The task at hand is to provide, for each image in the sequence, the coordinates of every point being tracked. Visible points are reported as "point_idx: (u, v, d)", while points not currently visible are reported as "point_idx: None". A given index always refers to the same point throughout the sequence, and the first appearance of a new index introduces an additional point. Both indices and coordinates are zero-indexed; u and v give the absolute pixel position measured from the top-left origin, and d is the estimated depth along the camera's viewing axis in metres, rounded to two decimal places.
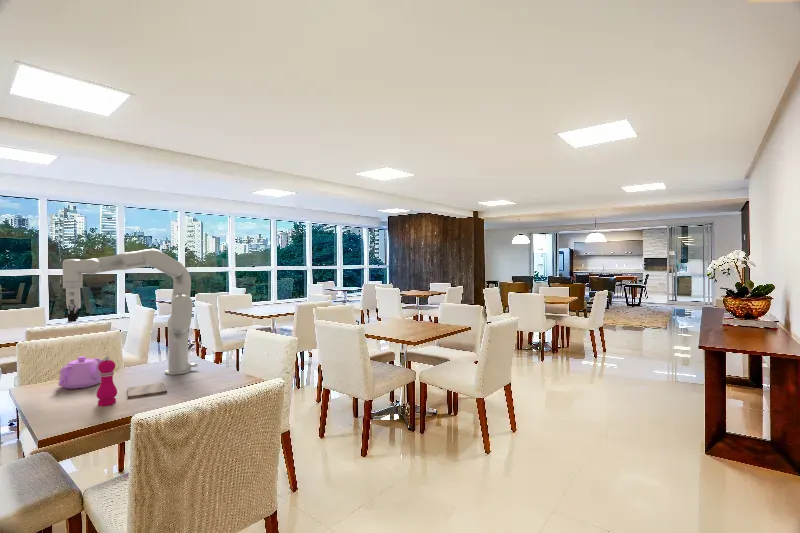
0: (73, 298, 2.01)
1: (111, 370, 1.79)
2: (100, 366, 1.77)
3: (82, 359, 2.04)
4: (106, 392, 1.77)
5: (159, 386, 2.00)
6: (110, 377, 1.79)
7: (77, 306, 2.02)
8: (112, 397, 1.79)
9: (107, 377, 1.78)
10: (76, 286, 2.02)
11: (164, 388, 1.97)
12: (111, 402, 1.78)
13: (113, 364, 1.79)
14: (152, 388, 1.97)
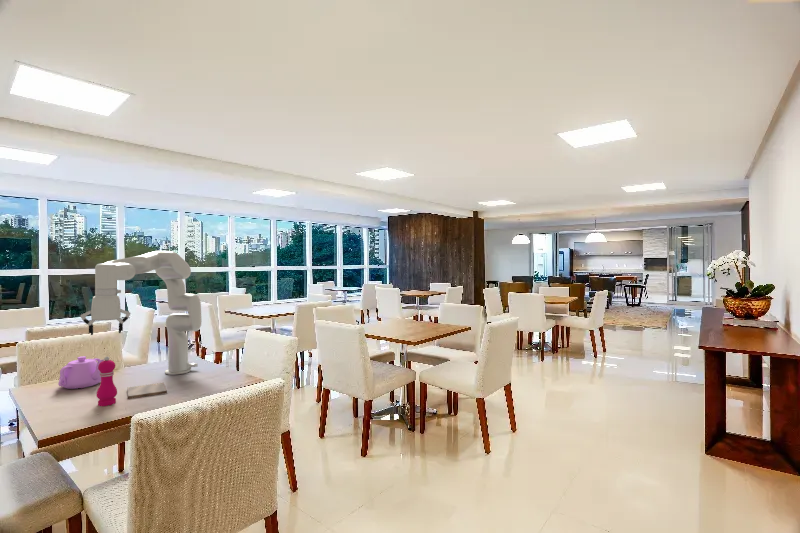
0: None
1: (111, 370, 1.79)
2: (100, 366, 1.77)
3: (82, 359, 2.04)
4: (106, 392, 1.77)
5: (159, 386, 2.00)
6: (110, 377, 1.79)
7: (120, 315, 1.83)
8: (112, 397, 1.79)
9: (107, 377, 1.78)
10: None
11: (164, 388, 1.97)
12: (111, 402, 1.78)
13: (113, 364, 1.79)
14: (152, 388, 1.97)
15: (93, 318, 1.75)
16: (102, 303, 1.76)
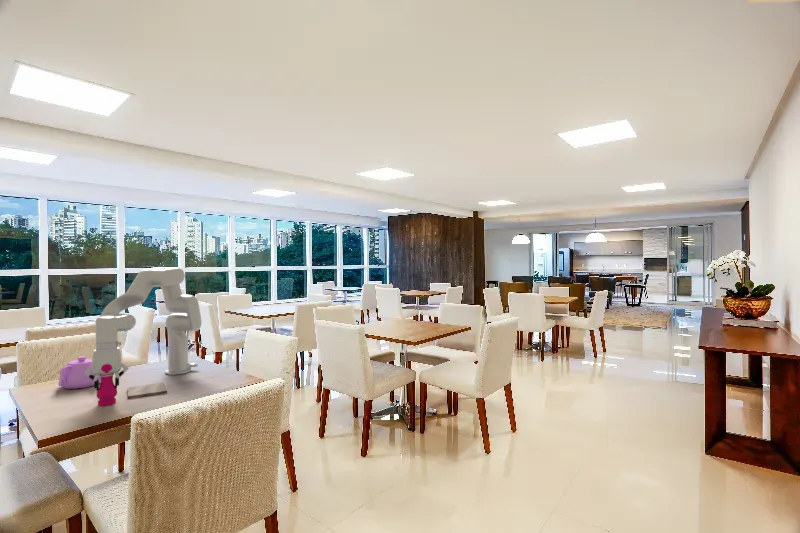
0: None
1: None
2: None
3: (82, 359, 2.04)
4: (106, 392, 1.77)
5: (159, 386, 2.00)
6: (110, 377, 1.79)
7: None
8: (112, 397, 1.79)
9: (107, 377, 1.78)
10: None
11: (164, 388, 1.97)
12: (111, 402, 1.78)
13: None
14: (152, 388, 1.97)
15: (94, 372, 1.75)
16: (102, 357, 1.77)
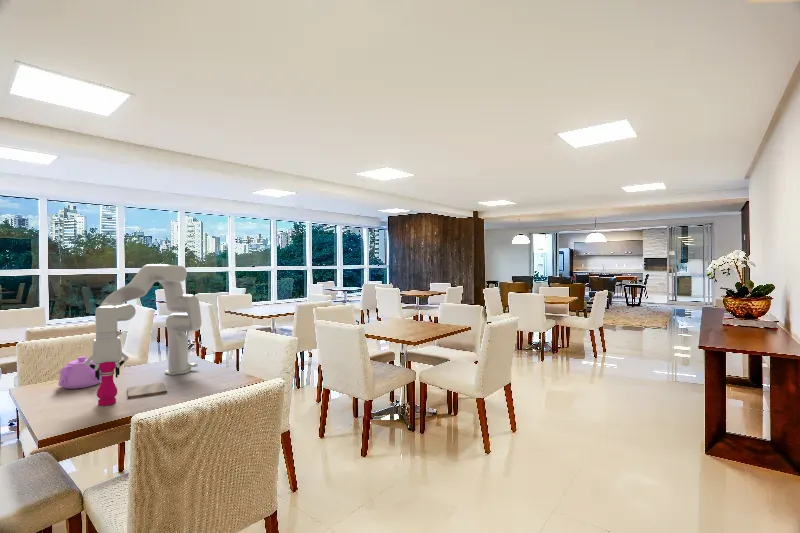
0: None
1: (112, 369, 1.79)
2: (101, 366, 1.77)
3: (82, 359, 2.04)
4: (107, 392, 1.77)
5: (159, 386, 2.00)
6: (110, 377, 1.79)
7: None
8: (112, 397, 1.79)
9: (107, 376, 1.78)
10: None
11: (164, 388, 1.97)
12: (111, 402, 1.78)
13: (114, 363, 1.80)
14: (152, 388, 1.97)
15: (94, 361, 1.76)
16: (103, 347, 1.77)
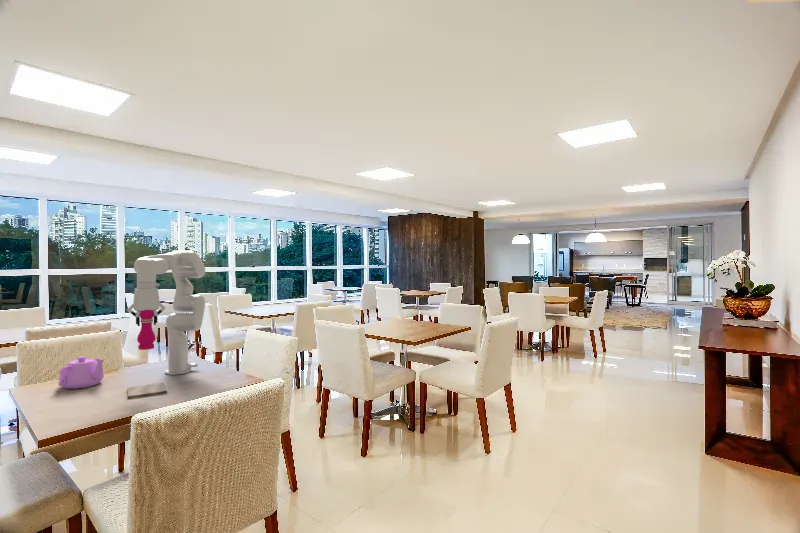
0: None
1: (151, 317, 1.95)
2: (141, 313, 1.93)
3: (82, 359, 2.04)
4: (146, 337, 1.93)
5: (159, 386, 2.00)
6: (149, 324, 1.95)
7: None
8: (151, 342, 1.95)
9: (147, 323, 1.94)
10: None
11: (164, 388, 1.97)
12: (150, 346, 1.94)
13: (152, 312, 1.95)
14: (152, 388, 1.97)
15: (135, 309, 1.92)
16: (143, 295, 1.93)
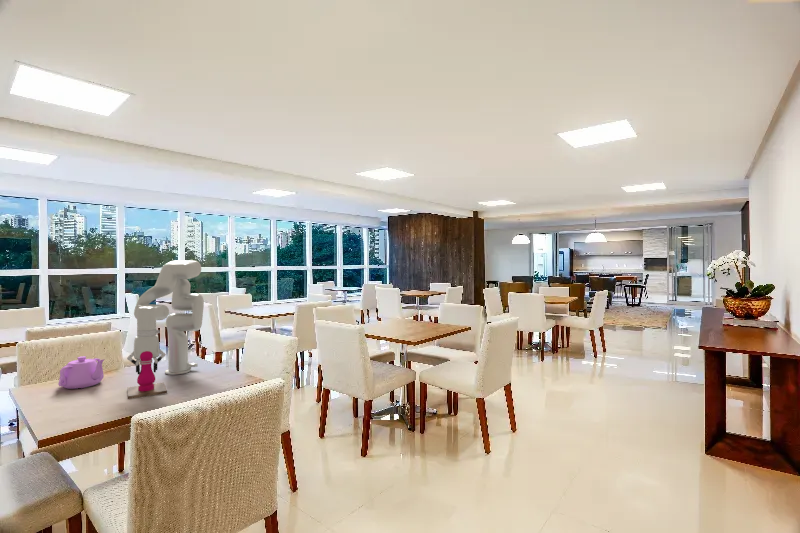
0: None
1: (150, 358, 1.95)
2: (141, 355, 1.92)
3: (82, 359, 2.04)
4: (146, 379, 1.93)
5: (159, 386, 2.00)
6: (149, 365, 1.95)
7: None
8: (151, 383, 1.95)
9: (147, 365, 1.94)
10: None
11: (164, 388, 1.97)
12: (150, 388, 1.94)
13: None
14: None
15: (136, 357, 1.92)
16: (143, 344, 1.93)
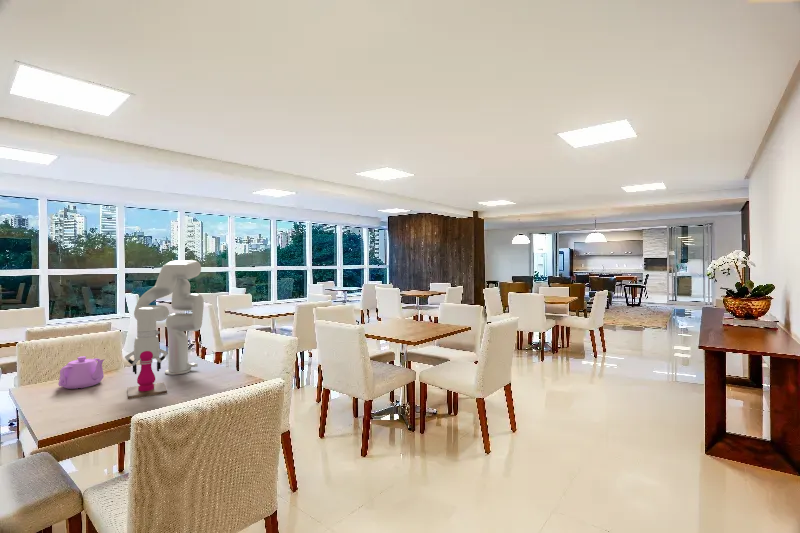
0: None
1: (150, 358, 1.95)
2: (141, 355, 1.92)
3: (82, 359, 2.04)
4: (146, 379, 1.93)
5: (159, 386, 2.00)
6: (149, 365, 1.95)
7: None
8: (151, 383, 1.95)
9: (147, 365, 1.94)
10: None
11: (164, 388, 1.97)
12: (150, 388, 1.94)
13: (152, 353, 1.95)
14: None
15: (136, 358, 1.92)
16: (143, 345, 1.93)
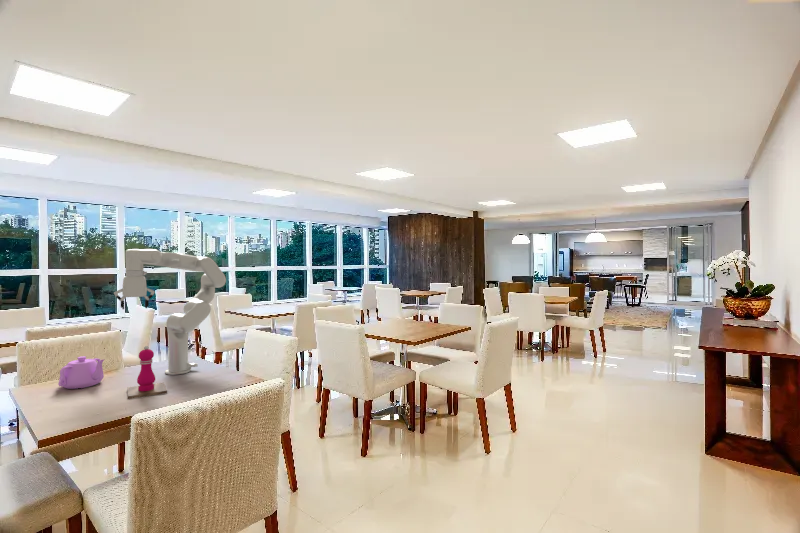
0: None
1: (150, 358, 1.95)
2: (141, 355, 1.93)
3: (82, 359, 2.04)
4: (146, 378, 1.93)
5: (159, 386, 2.00)
6: (149, 365, 1.95)
7: None
8: (151, 383, 1.95)
9: (147, 365, 1.94)
10: None
11: (164, 388, 1.97)
12: (150, 388, 1.94)
13: (152, 353, 1.95)
14: None
15: (124, 295, 2.08)
16: (131, 283, 2.09)
